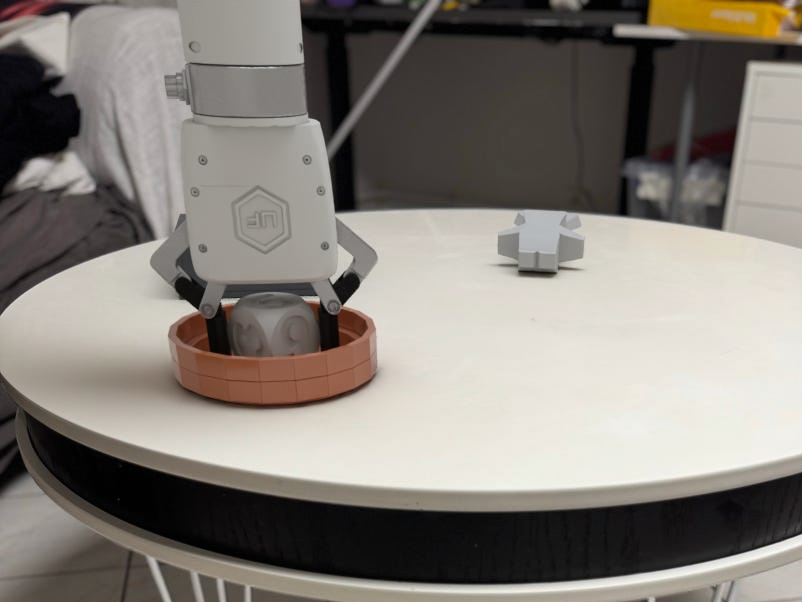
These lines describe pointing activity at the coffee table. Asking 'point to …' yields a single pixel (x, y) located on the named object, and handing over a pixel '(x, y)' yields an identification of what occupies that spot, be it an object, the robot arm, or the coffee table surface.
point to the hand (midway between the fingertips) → (277, 362)
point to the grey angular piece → (542, 240)
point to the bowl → (274, 364)
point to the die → (273, 326)
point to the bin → (241, 289)
